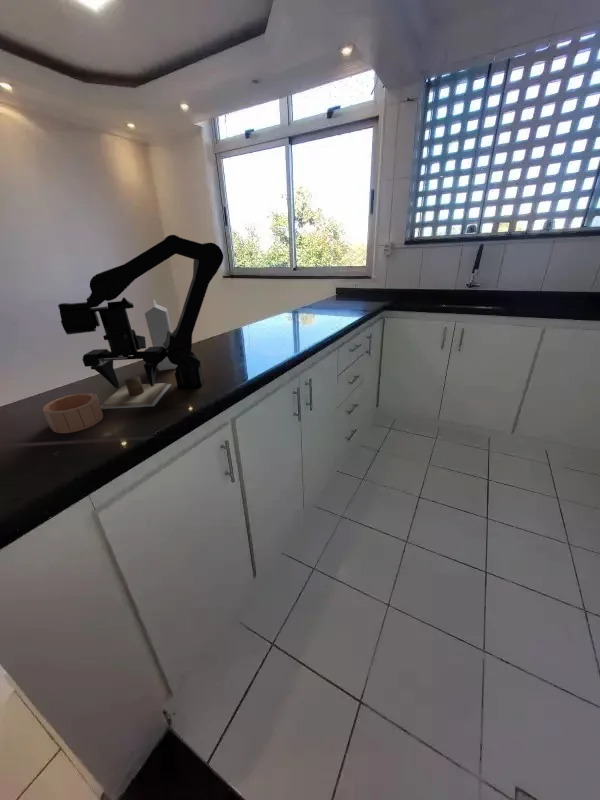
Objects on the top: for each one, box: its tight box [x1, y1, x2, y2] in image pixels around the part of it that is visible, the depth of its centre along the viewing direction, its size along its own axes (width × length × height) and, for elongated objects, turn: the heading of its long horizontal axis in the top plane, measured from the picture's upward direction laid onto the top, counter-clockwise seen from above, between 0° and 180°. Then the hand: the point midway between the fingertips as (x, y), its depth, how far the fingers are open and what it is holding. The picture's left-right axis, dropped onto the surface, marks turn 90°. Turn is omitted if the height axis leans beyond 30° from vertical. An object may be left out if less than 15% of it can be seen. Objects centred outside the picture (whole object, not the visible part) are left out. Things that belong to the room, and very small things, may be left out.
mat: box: [100, 383, 172, 410], centre depth 83 cm, size 14×14×1 cm
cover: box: [101, 376, 168, 407], centre depth 82 cm, size 12×12×5 cm
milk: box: [144, 299, 178, 371], centre depth 99 cm, size 6×6×22 cm
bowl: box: [42, 392, 104, 434], centre depth 70 cm, size 10×10×6 cm
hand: (135, 387), depth 82 cm, fingers open, 9 cm apart
